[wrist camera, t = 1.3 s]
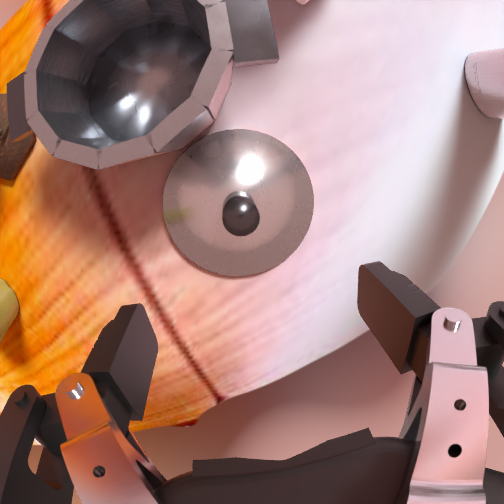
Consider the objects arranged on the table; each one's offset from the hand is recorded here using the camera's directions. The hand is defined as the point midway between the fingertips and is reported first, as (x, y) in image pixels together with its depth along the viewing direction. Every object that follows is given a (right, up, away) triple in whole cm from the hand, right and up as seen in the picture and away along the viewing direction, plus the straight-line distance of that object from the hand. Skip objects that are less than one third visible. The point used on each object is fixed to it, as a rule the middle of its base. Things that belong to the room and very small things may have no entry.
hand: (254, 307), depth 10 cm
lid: (-1, +6, +16) cm, 17 cm away
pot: (-9, +17, +10) cm, 22 cm away
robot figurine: (-27, +15, +10) cm, 32 cm away
